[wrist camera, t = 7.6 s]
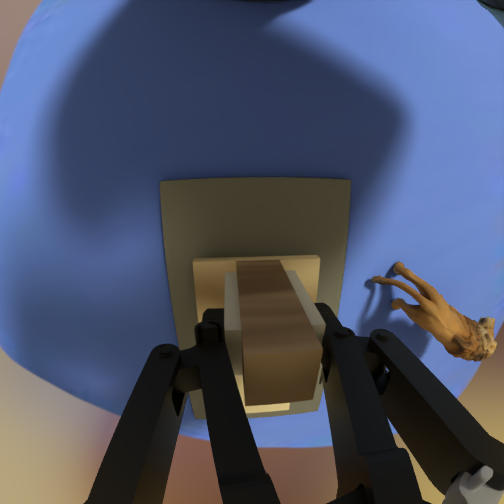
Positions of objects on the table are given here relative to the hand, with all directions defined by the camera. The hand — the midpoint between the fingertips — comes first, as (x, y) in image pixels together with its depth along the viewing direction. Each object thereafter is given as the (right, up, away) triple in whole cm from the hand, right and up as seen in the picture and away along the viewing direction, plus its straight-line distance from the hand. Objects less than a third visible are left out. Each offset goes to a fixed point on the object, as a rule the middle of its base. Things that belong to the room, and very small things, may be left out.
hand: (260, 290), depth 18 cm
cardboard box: (0, -1, +3) cm, 3 cm away
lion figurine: (+17, -2, +6) cm, 18 cm away
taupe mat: (0, -4, +5) cm, 7 cm away
